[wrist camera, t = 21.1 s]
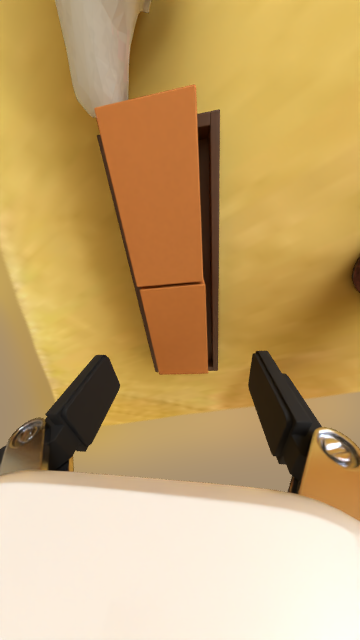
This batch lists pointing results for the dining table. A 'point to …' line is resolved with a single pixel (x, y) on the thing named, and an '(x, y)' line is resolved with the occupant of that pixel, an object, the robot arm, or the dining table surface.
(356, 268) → the can
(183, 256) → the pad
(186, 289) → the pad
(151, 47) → the dining table surface
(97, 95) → the animal skull
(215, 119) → the frame
